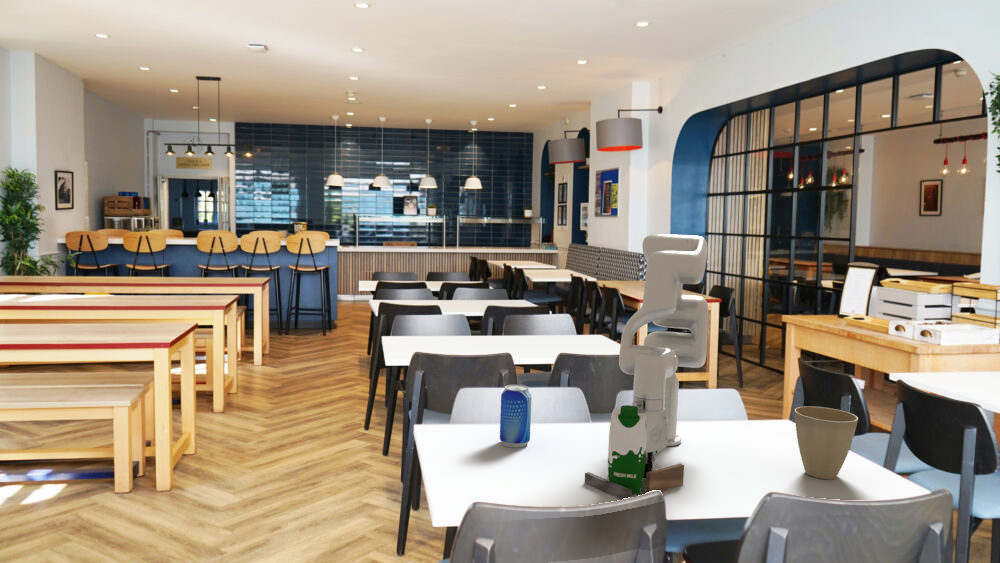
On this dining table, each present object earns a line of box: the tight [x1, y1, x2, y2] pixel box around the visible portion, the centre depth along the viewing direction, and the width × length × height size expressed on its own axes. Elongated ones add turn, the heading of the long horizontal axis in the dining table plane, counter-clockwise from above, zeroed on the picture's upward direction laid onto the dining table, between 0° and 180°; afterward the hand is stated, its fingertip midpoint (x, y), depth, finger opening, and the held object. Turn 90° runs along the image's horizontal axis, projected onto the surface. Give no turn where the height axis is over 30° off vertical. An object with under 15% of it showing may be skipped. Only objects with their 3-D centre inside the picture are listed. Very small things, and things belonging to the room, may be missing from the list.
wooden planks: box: [584, 463, 685, 500], centre depth 183 cm, size 14×20×5 cm
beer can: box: [499, 384, 533, 449], centre depth 211 cm, size 8×8×16 cm
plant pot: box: [794, 406, 859, 480], centre depth 195 cm, size 15×15×16 cm
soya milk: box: [607, 404, 647, 495], centre depth 180 cm, size 9×9×20 cm
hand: (644, 477), depth 186 cm, fingers closed
